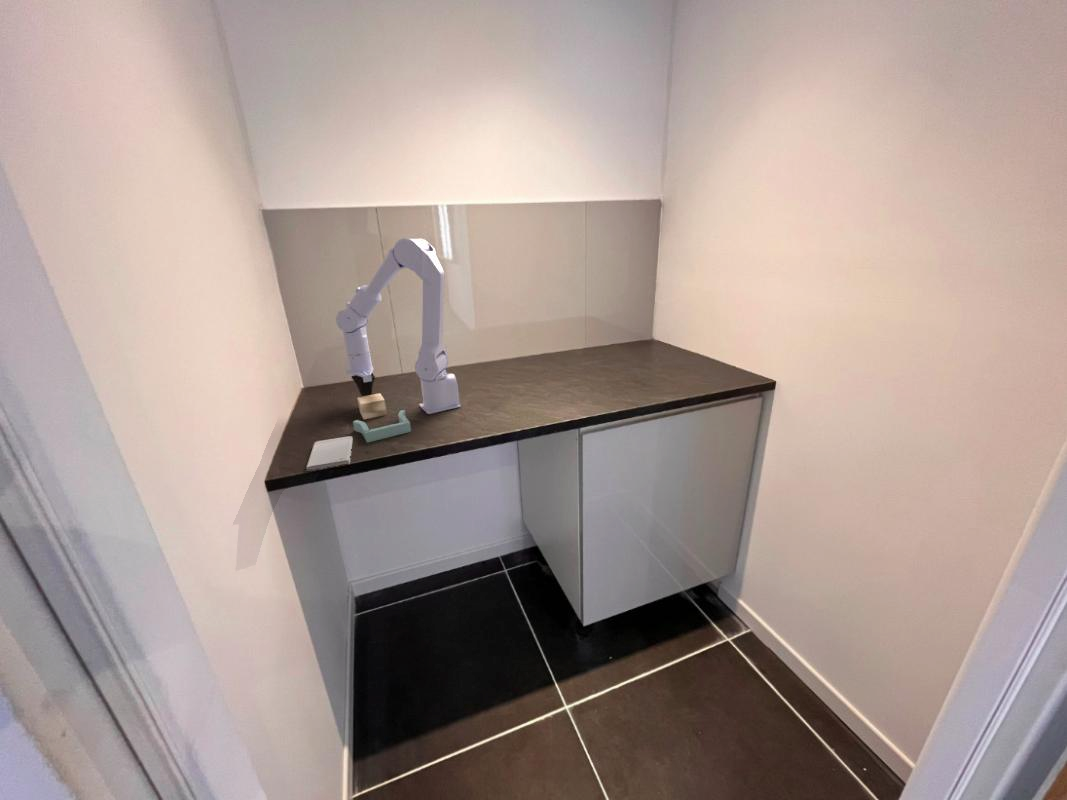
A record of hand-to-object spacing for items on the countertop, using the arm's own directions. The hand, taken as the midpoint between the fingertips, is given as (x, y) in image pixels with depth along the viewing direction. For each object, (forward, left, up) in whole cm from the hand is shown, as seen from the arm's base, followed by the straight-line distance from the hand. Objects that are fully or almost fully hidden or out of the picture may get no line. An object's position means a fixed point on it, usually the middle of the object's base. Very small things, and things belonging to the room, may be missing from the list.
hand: (367, 399), depth 118 cm
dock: (0, +21, -2) cm, 21 cm away
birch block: (0, +7, -2) cm, 7 cm away
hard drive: (+13, +26, -3) cm, 29 cm away
